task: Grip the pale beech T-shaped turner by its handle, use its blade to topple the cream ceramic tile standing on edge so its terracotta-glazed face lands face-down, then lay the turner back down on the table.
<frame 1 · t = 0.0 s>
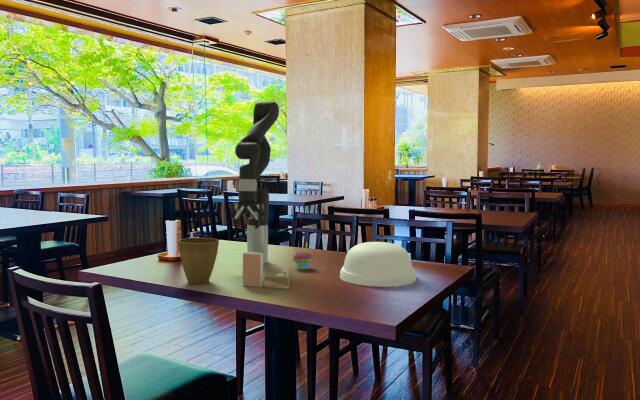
hand: (247, 228, 220), 17 cm above the table, tool pointing down, fingers open, 8 cm apart
plant pot: (199, 282, 195), on the table
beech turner: (281, 283, 194), on the table
ceramic tile: (252, 285, 192), on the table
cupcake: (302, 269, 222), on the table
dome cover: (377, 278, 206), on the table
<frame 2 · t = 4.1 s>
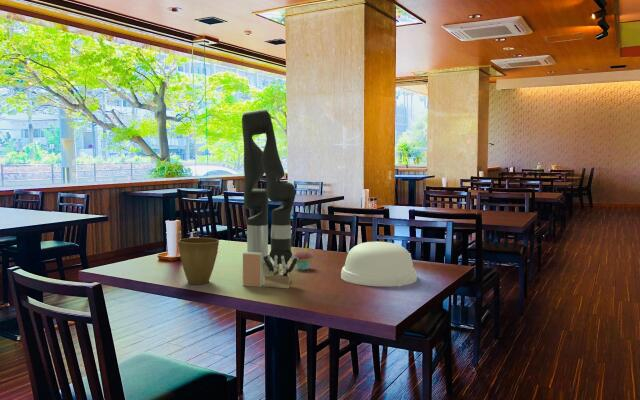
hand: (280, 282, 193), 1 cm above the table, tool pointing down, fingers closed on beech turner, 2 cm apart
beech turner: (281, 283, 194), on the table, touching gripper
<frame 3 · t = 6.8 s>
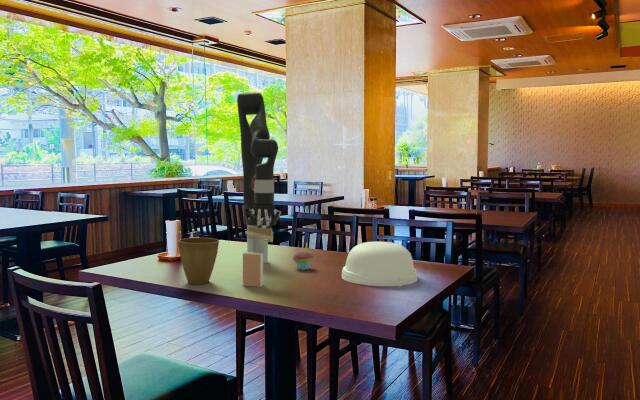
hand: (264, 235, 202), 17 cm above the table, tool pointing down, fingers closed on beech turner, 2 cm apart
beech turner: (264, 240, 202), point 15 cm above the table, tilted 14°, touching gripper
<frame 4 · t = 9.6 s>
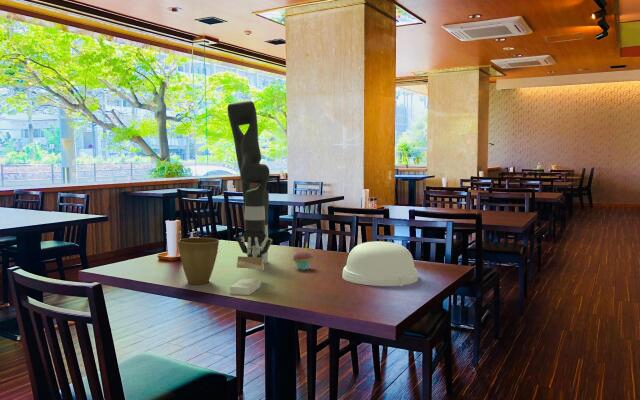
hand: (254, 264, 193), 7 cm above the table, tool pointing down, fingers closed on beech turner, 2 cm apart
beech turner: (254, 269, 193), point 6 cm above the table, tilted 15°, touching gripper
ceramic tile: (251, 282, 190), point 1 cm above the table, tilted 90°
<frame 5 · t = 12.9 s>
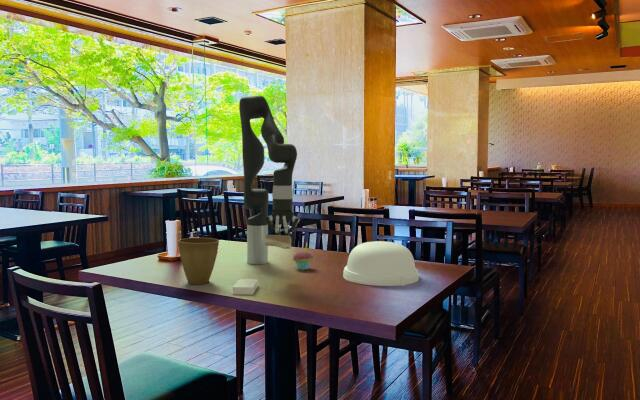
hand: (282, 243, 196), 15 cm above the table, tool pointing down, fingers closed on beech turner, 2 cm apart
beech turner: (282, 247, 196), point 13 cm above the table, tilted 14°, touching gripper
ceramic tile: (248, 282, 190), point 1 cm above the table, tilted 90°
when the fingers open (2 cm above the table, at t = 15.8 s): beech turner stays where it is, on the table.
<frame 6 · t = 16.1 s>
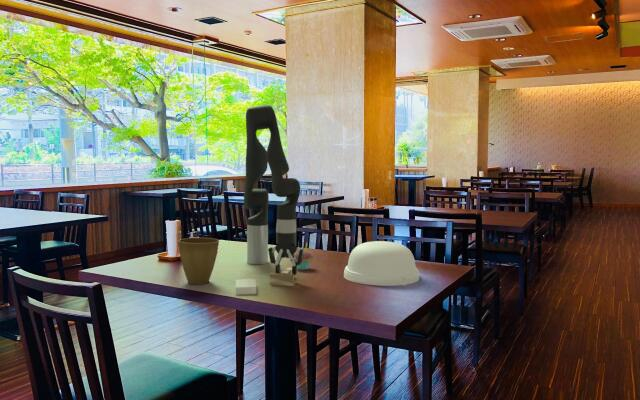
hand: (286, 274, 198), 2 cm above the table, tool pointing down, fingers open, 5 cm apart
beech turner: (286, 281, 199), on the table
ceramic tile: (245, 282, 190), point 1 cm above the table, tilted 90°
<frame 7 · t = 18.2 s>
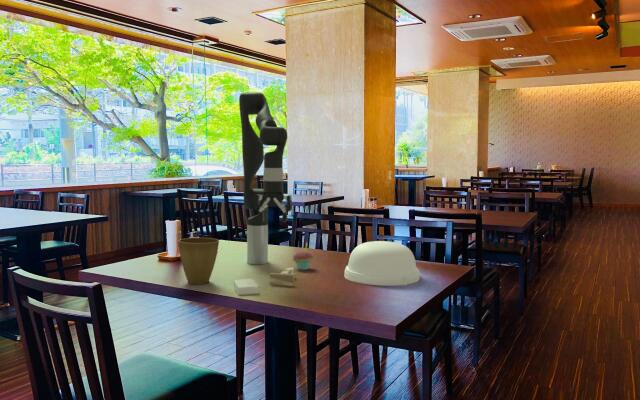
hand: (273, 221, 200), 22 cm above the table, tool pointing down, fingers open, 8 cm apart
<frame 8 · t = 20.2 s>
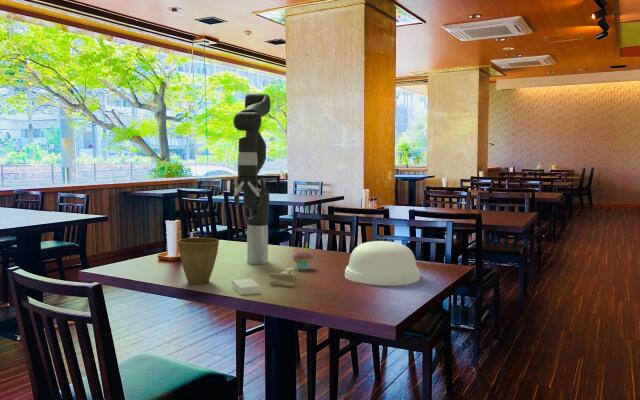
hand: (247, 205, 204), 28 cm above the table, tool pointing down, fingers open, 8 cm apart
at the end: ceramic tile tilted 90°; the gripper is holding nothing; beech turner inside the target area (0.0 cm from its centre), on the table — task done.
